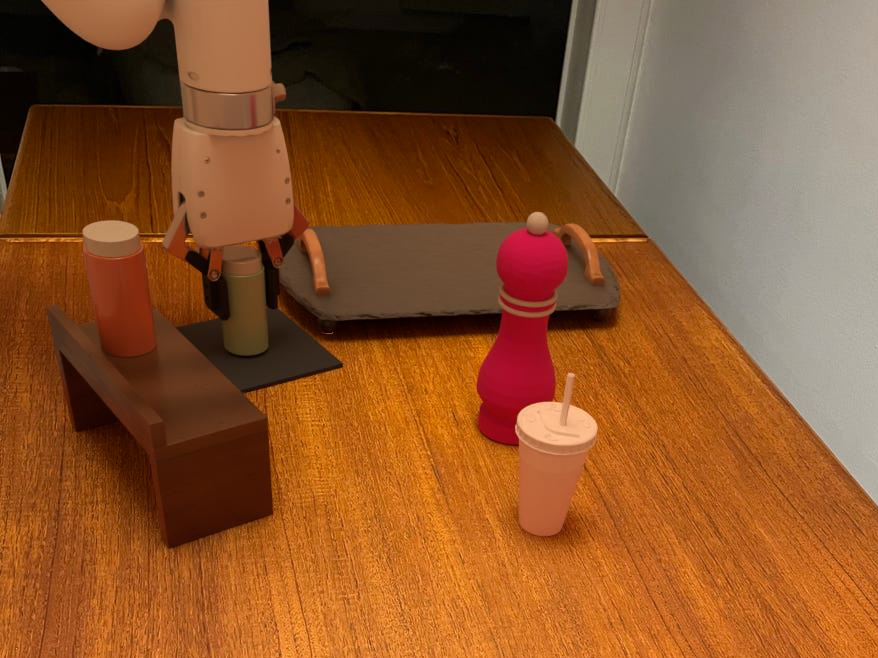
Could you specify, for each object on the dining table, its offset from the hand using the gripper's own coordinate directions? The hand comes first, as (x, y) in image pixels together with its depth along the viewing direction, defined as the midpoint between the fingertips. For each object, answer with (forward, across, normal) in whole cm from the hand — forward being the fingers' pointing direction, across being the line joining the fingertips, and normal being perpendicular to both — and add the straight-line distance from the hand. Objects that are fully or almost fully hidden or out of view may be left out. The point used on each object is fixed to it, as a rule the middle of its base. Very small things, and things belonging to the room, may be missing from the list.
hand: (243, 307), depth 97 cm
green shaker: (+4, 0, 0) cm, 4 cm away
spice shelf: (+5, +15, +15) cm, 22 cm away
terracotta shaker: (-4, +15, +10) cm, 19 cm away
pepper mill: (+5, -15, +24) cm, 29 cm away
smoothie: (+5, -8, +37) cm, 38 cm away
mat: (+5, 0, 0) cm, 5 cm away
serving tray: (+5, -27, -3) cm, 28 cm away
